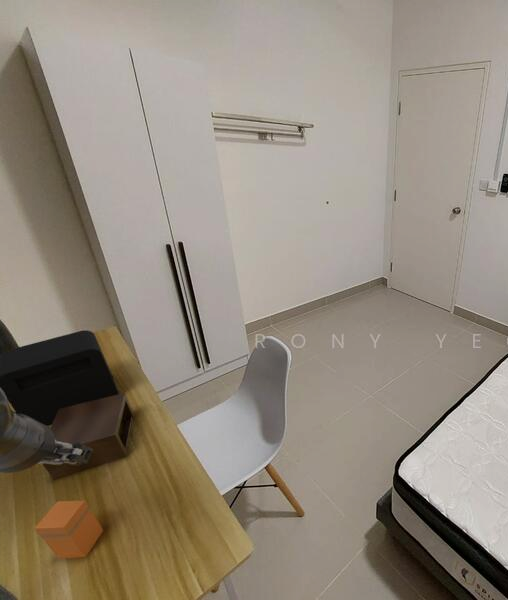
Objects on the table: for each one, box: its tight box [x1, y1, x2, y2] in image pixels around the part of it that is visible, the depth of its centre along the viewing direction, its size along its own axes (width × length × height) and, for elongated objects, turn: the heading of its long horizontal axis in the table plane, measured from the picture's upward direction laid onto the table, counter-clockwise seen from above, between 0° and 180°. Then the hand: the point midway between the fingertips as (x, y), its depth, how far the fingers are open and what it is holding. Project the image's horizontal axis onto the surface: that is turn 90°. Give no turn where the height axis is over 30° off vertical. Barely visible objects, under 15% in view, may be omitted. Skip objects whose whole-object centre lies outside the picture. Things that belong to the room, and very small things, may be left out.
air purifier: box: [0, 329, 120, 427], centre depth 96 cm, size 20×15×20 cm
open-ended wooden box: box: [42, 392, 135, 481], centre depth 86 cm, size 14×16×9 cm
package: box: [34, 500, 104, 559], centre depth 65 cm, size 5×5×11 cm
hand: (53, 458), depth 62 cm, fingers open, 8 cm apart
